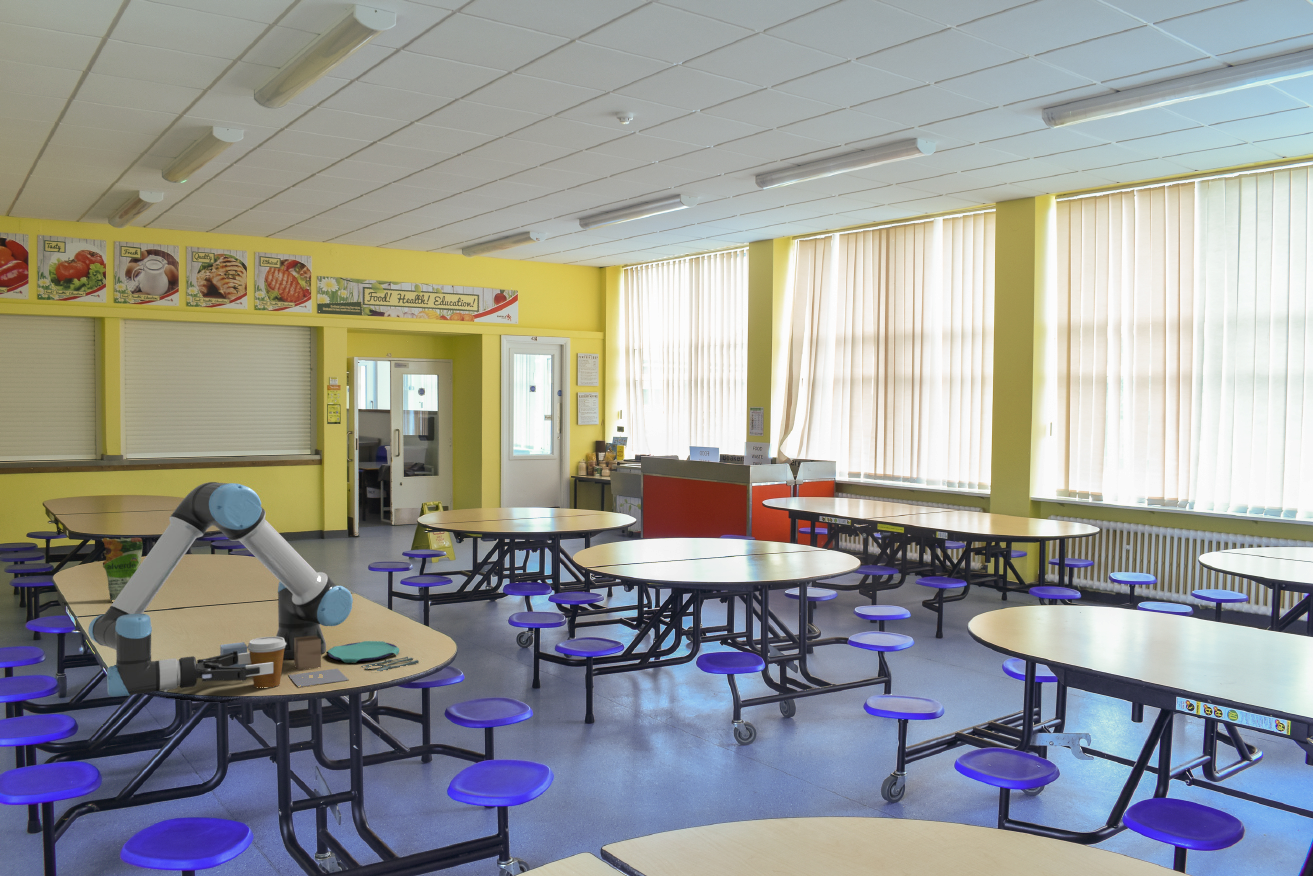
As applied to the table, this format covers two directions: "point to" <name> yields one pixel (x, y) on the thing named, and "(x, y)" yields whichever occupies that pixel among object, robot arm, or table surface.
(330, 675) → the mat
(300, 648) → the walnut block
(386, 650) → the cutlery set
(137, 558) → the pouch
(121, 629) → the robot arm
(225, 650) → the slate block
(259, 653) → the disposable coffee cup
